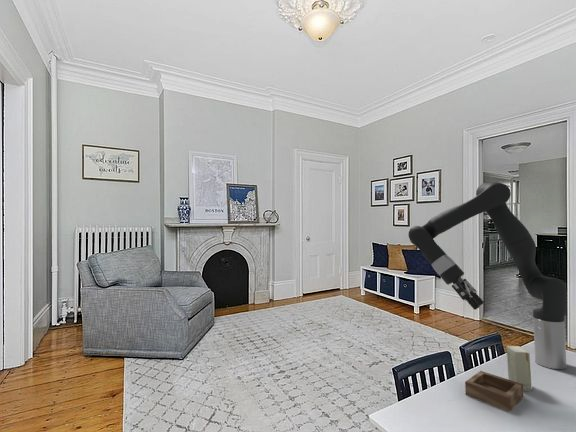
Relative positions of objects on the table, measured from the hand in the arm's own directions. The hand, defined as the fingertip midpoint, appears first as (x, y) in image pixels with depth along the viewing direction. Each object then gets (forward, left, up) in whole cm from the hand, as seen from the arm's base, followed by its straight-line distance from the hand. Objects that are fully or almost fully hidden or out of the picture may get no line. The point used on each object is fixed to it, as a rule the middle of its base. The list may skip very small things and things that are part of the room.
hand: (479, 306), depth 112 cm
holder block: (+11, +8, -25) cm, 28 cm away
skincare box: (-2, +11, -25) cm, 27 cm away
